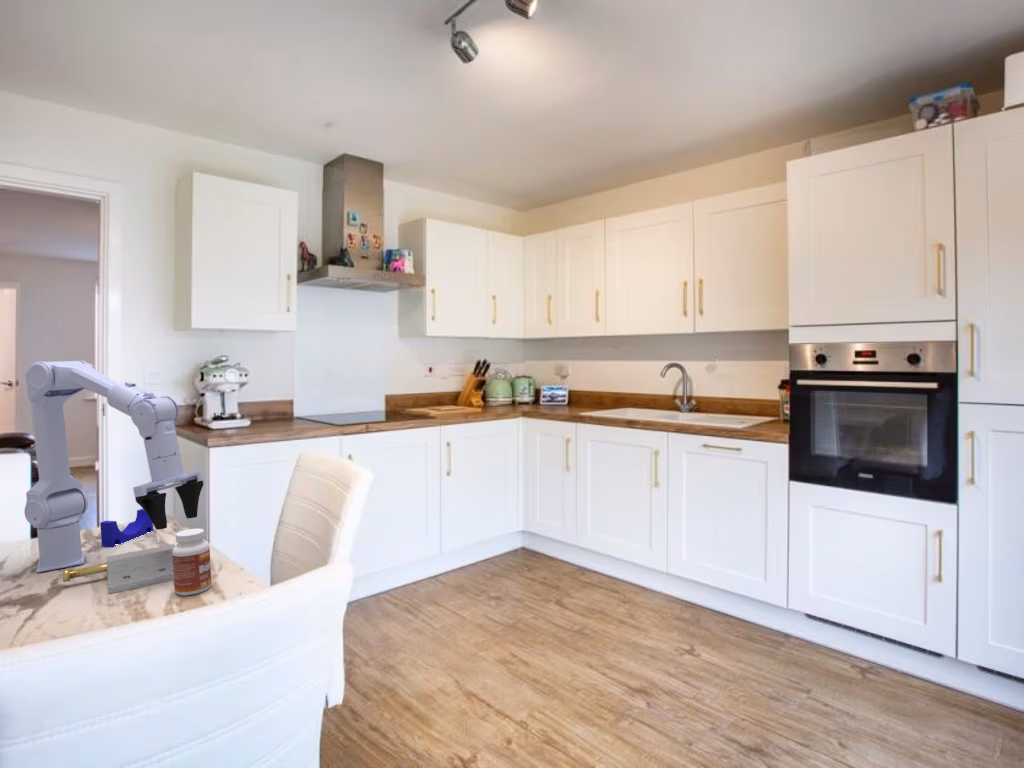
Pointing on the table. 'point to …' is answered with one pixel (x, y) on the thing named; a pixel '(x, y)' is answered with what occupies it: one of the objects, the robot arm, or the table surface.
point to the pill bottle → (191, 562)
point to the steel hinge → (140, 568)
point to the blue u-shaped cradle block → (125, 530)
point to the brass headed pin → (83, 572)
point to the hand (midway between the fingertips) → (177, 523)
